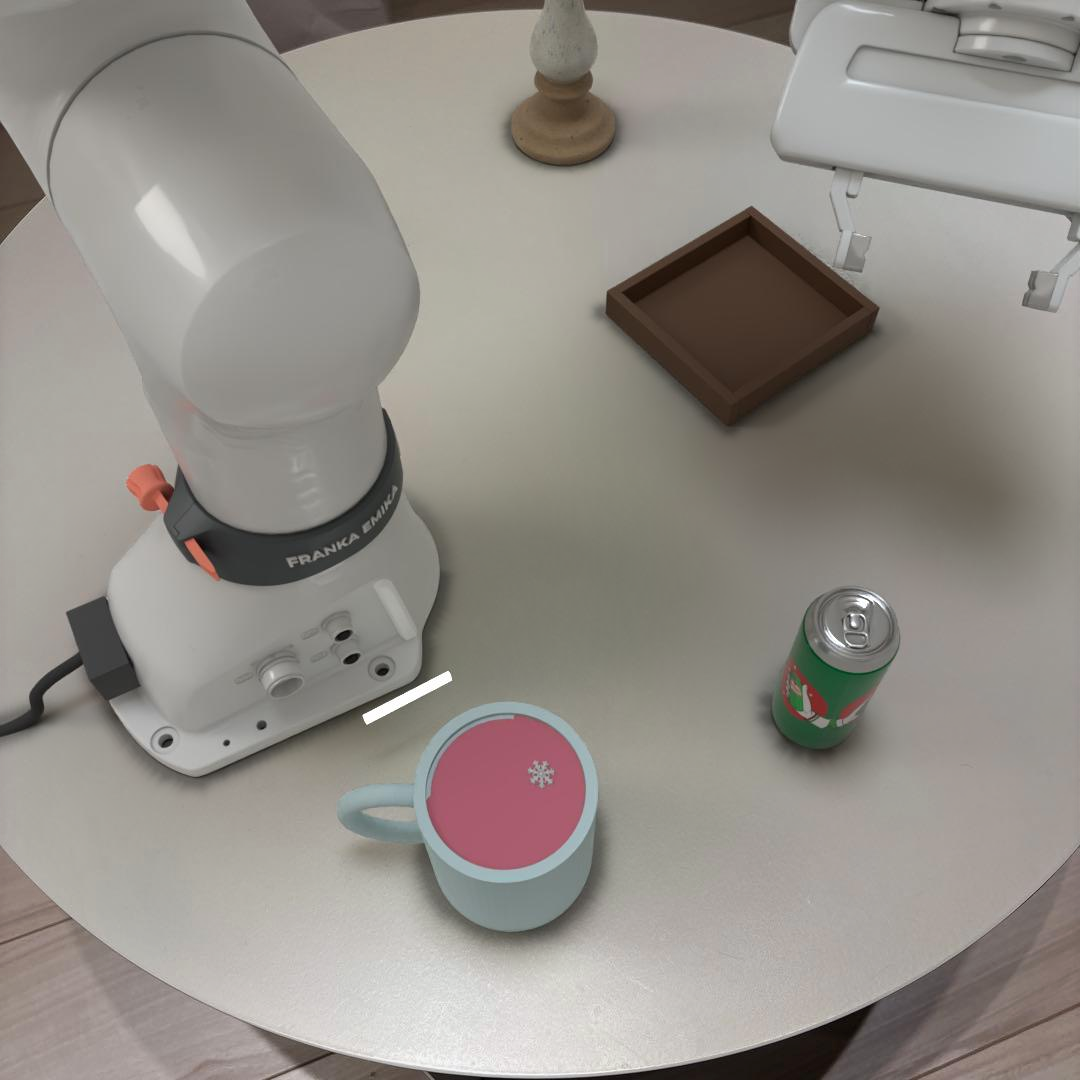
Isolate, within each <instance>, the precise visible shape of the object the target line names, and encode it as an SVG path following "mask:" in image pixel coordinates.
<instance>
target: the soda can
mask: <svg viewBox="0 0 1080 1080" xmlns="http://www.w3.org/2000/svg"><path fill="white" fill-rule="evenodd" d="M900 645H901V629H900V627H899V623H898V618H897V615H896V613H895V610H894V608H893V607H892V606H891V604H890V603H889V602H888V601H887V600H886V599H885V598H884V597H883V596H882V595H880V594H879V593H877V592H876V591H874V590H871V589H869V588H866V587H863V586H856V585H843V586H838V587H835V588H833V589H830V590H829V591H827V592H825V593H823V594H821V595H819V596H818V597H816V598H815V599H814V600H813V601H812V602H811V603H810V604H809V606H808V607H807V608H806V610H805V613H804V615H803V617H802V620H801V623H800V625H799V628H798V629H797V632H796V635H795V638H794V640H793V643H792V645H791V648H790V650H789V653H788V656H787V658H786V660H785V663H784V665H783V669H782V670H781V673H780V675H779V679H778V681H777V684H776V686H775V688H774V691H773V693H772V698H771V714H772V717H773V720H774V723H775V725H776V726H777V728H778V729H779V731H780V732H781V733H782V734H783V735H784V736H785V737H786V738H788V740H790V741H792V742H793V743H795V744H797V745H799V746H801V747H804V748H807V749H812V750H813V749H814V750H824V749H830V748H833V747H836V746H838V745H840V744H842V743H843V742H844V741H845V740H847V739H848V738H849V737H850V735H851V734H852V732H853V730H854V729H855V727H856V725H857V724H858V722H859V720H860V719H861V717H862V715H863V713H864V711H865V710H866V708H867V706H868V705H869V703H870V702H871V700H872V698H873V696H874V694H875V693H876V691H877V689H878V688H879V685H880V684H881V682H882V680H883V679H884V677H885V676H886V673H887V672H888V670H889V668H890V667H891V666H892V663H893V662H894V660H895V658H896V656H897V654H898V652H899V649H900V647H901V646H900Z"/></svg>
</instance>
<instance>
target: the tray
mask: <svg viewBox="0 0 1080 1080" xmlns="http://www.w3.org/2000/svg"><path fill="white" fill-rule="evenodd" d="M605 295H606V298H605V314H606V315H607V316H608V317H609V318H610V319H611V320H612V321H613V322H614V323H615V324H616V325H617V326H618V327H620V328H621V330H623V332H625V333H626V334H627V335H628V336H629V337H630V338H632V340H633V341H635V343H637V344H638V345H639V346H640V347H641V348H642V349H643V350H644V351H646V353H648V354H649V355H650V356H651V357H652V358H653V359H654V360H655V361H656V362H658V364H660V366H662V367H663V368H664V369H665V370H666V371H667V372H668V373H669V374H670V375H671V376H672V377H673V378H675V380H677V381H678V382H679V383H680V384H681V385H682V386H684V388H685V389H687V390H688V391H689V392H690V393H691V394H692V395H693V396H694V397H695V398H696V399H698V401H699V402H701V403H702V405H704V406H705V407H706V408H707V409H708V410H709V411H710V412H712V413H713V415H714V416H716V417H717V418H718V419H719V420H720V421H721V422H723V424H724V425H725V426H727V427H728V426H730V425H732V424H733V423H734V422H736V421H737V420H739V419H741V418H742V417H744V416H745V415H747V414H748V413H749V412H751V411H752V410H754V409H756V408H758V406H760V405H762V404H763V403H765V402H766V401H768V400H769V399H771V398H772V397H774V396H775V395H776V394H778V393H780V392H781V391H783V390H784V389H786V388H787V387H789V386H790V385H792V384H793V383H794V382H797V380H799V379H800V378H802V377H804V376H805V375H807V374H808V373H810V372H811V371H813V370H814V369H816V368H817V367H818V366H820V365H822V364H823V363H825V362H826V361H828V360H829V359H831V358H833V357H834V356H836V355H837V354H839V353H840V352H841V351H843V350H844V349H846V348H848V346H851V344H852V345H853V343H855V342H856V341H858V340H859V339H860V338H862V337H864V336H865V335H867V334H868V333H870V332H871V331H873V329H874V326H875V323H876V320H877V317H878V315H879V312H880V306H879V305H877V304H876V303H875V302H874V301H873V300H871V299H870V298H869V297H867V295H865V294H864V293H863V292H861V291H860V290H858V288H856V287H855V286H854V285H852V284H851V283H850V282H849V281H847V280H846V279H845V278H843V277H842V276H841V275H840V274H838V273H837V272H836V271H835V270H834V269H832V268H831V267H830V266H828V265H827V264H826V263H825V262H823V261H822V260H821V259H819V258H818V257H817V255H815V254H814V253H812V252H811V251H809V250H808V249H807V248H806V247H804V246H803V245H802V244H801V243H799V241H798V240H795V238H793V237H792V236H791V235H789V234H788V233H787V232H786V231H785V230H783V229H782V228H781V227H779V226H778V225H777V224H776V223H775V222H773V221H772V220H771V219H769V218H768V217H767V216H766V215H764V214H763V213H762V212H761V211H759V210H758V209H757V208H756V207H755V206H753V205H750V206H749V207H747V208H745V209H744V210H741V211H740V212H738V213H736V214H735V215H734V216H732V217H729V219H726V220H724V221H723V222H722V223H720V224H718V225H717V226H715V227H713V228H711V229H710V230H708V231H706V232H705V233H703V234H701V235H700V236H698V237H696V238H694V239H693V240H691V241H689V242H688V243H686V244H684V245H682V246H681V247H679V248H678V249H676V250H674V251H672V252H671V253H669V254H667V255H666V256H664V257H662V258H661V259H659V260H657V261H655V262H654V263H651V264H650V265H649V266H647V267H645V268H643V269H642V270H640V271H638V272H637V273H635V274H633V275H632V276H630V277H628V278H626V279H625V280H623V281H622V282H620V283H618V284H616V285H615V286H613V287H610V289H607V290H606V294H605Z"/></svg>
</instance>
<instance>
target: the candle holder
mask: <svg viewBox="0 0 1080 1080" xmlns="http://www.w3.org/2000/svg"><path fill="white" fill-rule="evenodd" d="M542 7H543V8H542V10H541V14H540V16H539V18H538V20H537V22H536V24H535V25H534V28H533V30H532V34H531V36H530V42H529V56H530V59H531V63H532V65H533V66H534V68H535V69H536V72H535V74H534V77H533V84H534V87H535V88H536V90H537V92H535V93H534V94H532V95H531V96H529V97H527V98H526V99H525V100H523V101H522V102H521V103H520V104H519V105H518V106H517V107H516V109H515V111H514V112H513V114H512V117H511V125H510V126H511V135H512V138H513V141H514V143H515V145H516V146H517V147H518V149H520V150H521V152H523V153H524V154H525V155H527V156H529V157H530V158H532V159H534V160H537V161H539V162H542V163H545V164H550V165H551V164H552V165H558V166H559V165H561V166H564V165H565V166H566V165H576V164H581V163H584V162H587V161H590V160H593V159H594V158H597V157H598V156H600V155H601V154H602V153H603V152H605V151H606V150H607V149H608V148H609V146H610V145H611V143H612V141H613V140H614V136H615V133H616V119H615V115H614V113H613V111H612V109H611V108H610V106H609V105H608V104H607V103H606V102H605V101H603V99H601V98H599V97H598V96H596V95H595V94H593V93H592V92H591V91H590V90H591V88H592V87H593V84H594V77H593V73H592V71H591V69H592V67H593V66H594V64H595V63H596V60H597V57H598V51H599V43H598V38H597V35H596V32H595V29H594V27H593V24H592V22H591V20H590V18H589V16H588V14H587V12H586V8H585V5H584V0H544V3H543V6H542Z"/></svg>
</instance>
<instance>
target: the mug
mask: <svg viewBox="0 0 1080 1080" xmlns="http://www.w3.org/2000/svg"><path fill="white" fill-rule="evenodd" d="M418 761H419V762H418V765H417V766H416V767H417V768H416V771H415V775H414V780H413V783H404V782H386V783H385V782H384V783H376V784H375V783H374V784H369V785H368V784H367V785H364V786H360V787H357V788H354V789H352V790H351V791H348V792H346V793H345V794H344V795H343V796H342V797H341V798H340V799H339V801H338V802H337V805H336V808H335V809H336V817H337V820H338V821H339V823H340V824H341V825H342V827H344V828H345V829H347V831H350V832H352V833H354V834H355V835H359V836H360V837H364V838H367V839H371V840H374V841H379V842H386V843H393V844H407V845H408V844H411V845H412V844H424V846H425V849H426V851H427V855H428V857H429V861H430V863H431V867H432V870H433V872H434V875H435V878H436V881H437V884H438V886H439V888H440V890H441V892H442V894H443V895H444V897H445V898H446V900H447V901H448V902H449V903H450V905H451V906H452V907H453V908H454V909H455V911H457V912H458V913H459V914H460V915H461V916H463V918H466V919H467V920H469V921H470V922H472V923H474V924H476V925H477V926H480V927H482V928H486V929H489V930H493V931H496V932H506V933H514V932H515V933H516V932H525V931H530V930H533V929H536V928H540V927H542V926H544V925H547V924H549V923H551V922H552V921H553V920H556V919H557V918H558V917H560V916H561V915H562V914H563V913H565V912H566V911H567V910H568V909H569V908H570V907H571V906H572V905H573V904H574V903H575V902H576V900H577V898H578V897H579V896H580V894H581V893H582V891H583V889H584V887H585V886H586V883H587V880H588V879H589V875H590V872H591V869H592V865H593V864H592V862H593V856H594V855H593V854H594V845H595V833H596V824H597V823H596V822H597V811H598V802H599V800H598V799H599V782H598V774H597V770H596V766H595V763H594V760H593V757H592V755H591V753H590V751H589V749H588V746H587V745H586V743H585V742H584V740H583V739H582V737H581V736H580V735H579V733H578V732H576V730H575V729H574V728H573V727H572V726H571V725H570V724H569V723H568V722H566V721H565V720H564V719H563V718H561V717H560V716H558V715H556V714H555V713H553V712H551V711H549V710H547V709H545V708H542V707H540V706H537V705H534V704H531V703H525V702H521V701H520V702H519V701H497V702H490V703H484V704H481V705H478V706H475V707H472V708H470V709H468V710H466V711H464V712H462V713H460V714H458V715H457V716H455V717H453V719H451V720H450V721H448V722H447V723H446V724H444V725H443V726H442V727H441V728H440V729H439V730H438V731H437V732H436V734H435V735H434V736H432V738H431V740H430V741H429V743H428V744H427V746H426V747H425V749H424V751H422V754H421V757H420V759H419V760H418ZM387 807H388V808H391V807H395V808H396V807H397V808H412V809H414V814H415V816H416V821H403V820H401V821H400V820H392V819H384V818H381V817H380V818H379V817H376V816H373V815H370V814H367V813H364V812H363V811H366V810H368V809H375V808H377V809H378V808H387Z"/></svg>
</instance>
